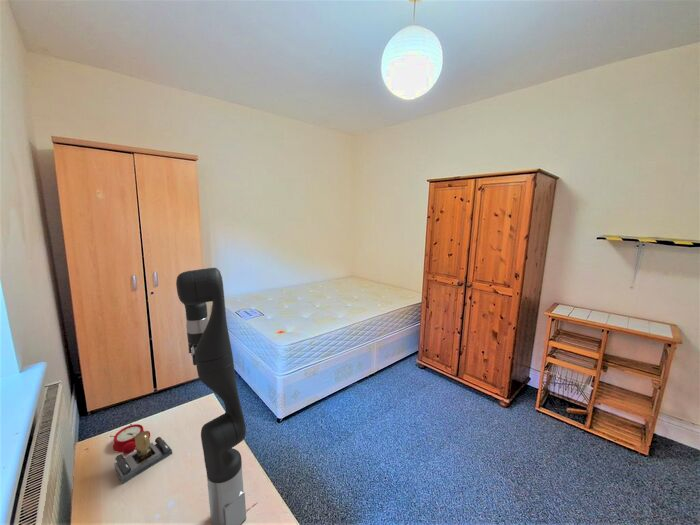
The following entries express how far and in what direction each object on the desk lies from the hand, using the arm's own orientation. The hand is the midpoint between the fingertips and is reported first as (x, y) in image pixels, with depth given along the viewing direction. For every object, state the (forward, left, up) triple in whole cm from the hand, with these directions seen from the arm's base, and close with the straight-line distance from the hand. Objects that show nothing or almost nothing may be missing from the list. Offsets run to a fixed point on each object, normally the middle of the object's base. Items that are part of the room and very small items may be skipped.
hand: (201, 368), depth 110 cm
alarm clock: (+20, +20, -31) cm, 41 cm away
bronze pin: (+6, +20, -30) cm, 37 cm away
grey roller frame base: (+6, +20, -30) cm, 37 cm away
